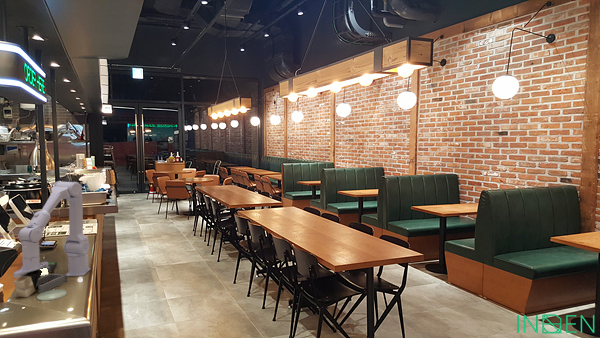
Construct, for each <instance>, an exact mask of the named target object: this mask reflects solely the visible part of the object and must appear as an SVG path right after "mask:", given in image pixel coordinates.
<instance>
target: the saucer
mask: <svg viewBox="0 0 600 338" xmlns="http://www.w3.org/2000/svg"><path fill="white" fill-rule="evenodd" d="M67 294H68V293H67V290H66V289H59V288H58V289H50V290H48V291H45V292H43V293H38V294H37V296H36V299H37V300H38V301H43V302H45V301H46V302H47V301H48V302H49V301H55V300H58V299H61V298H64V297H65V296H66V295H67Z"/></svg>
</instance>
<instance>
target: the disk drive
mask: <svg viewBox="0 0 600 338" xmlns="http://www.w3.org/2000/svg"><path fill="white" fill-rule="evenodd" d="M57 263H58V262H57V261H53V262H48V267H43V268H47V269H48V272H50V271H52V270H53V271H54V270H55V269H56V268H57V265H58V264H57ZM43 268H41V269H43ZM39 270H40V269H39ZM53 271H52V272H53Z"/></svg>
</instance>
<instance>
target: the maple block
mask: <svg viewBox="0 0 600 338" xmlns="http://www.w3.org/2000/svg"><path fill="white" fill-rule="evenodd" d="M13 284H14V287H15V290H16V293H17V296H18V297H20V298H21V297H23V298H28V297H30V296H31V295H32V294H33V293H34V292H36V289H35V288H34V285H33V282H32V279H31V276H20V277H19V278H16V279H15V280H14V281H13Z"/></svg>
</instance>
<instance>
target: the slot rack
mask: <svg viewBox="0 0 600 338" xmlns="http://www.w3.org/2000/svg"><path fill="white" fill-rule="evenodd" d="M48 280H51V281H49V282H46V281H48ZM44 282H46V283H44ZM67 282H68V276H67V275H66V274H62V273H60V274H58V273H53V272H52V273H50V274H48V275H45V276H43V277H39V279H38V281H37V285H36V288H38V291H37V292H38V294H41V293H43V292H46V291H50V290H53V289H54V288H56V287H58V286H61V285H62V284H65V283H67ZM42 283H44V284H42ZM41 284H42V285H41ZM37 286H38V287H37Z"/></svg>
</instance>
